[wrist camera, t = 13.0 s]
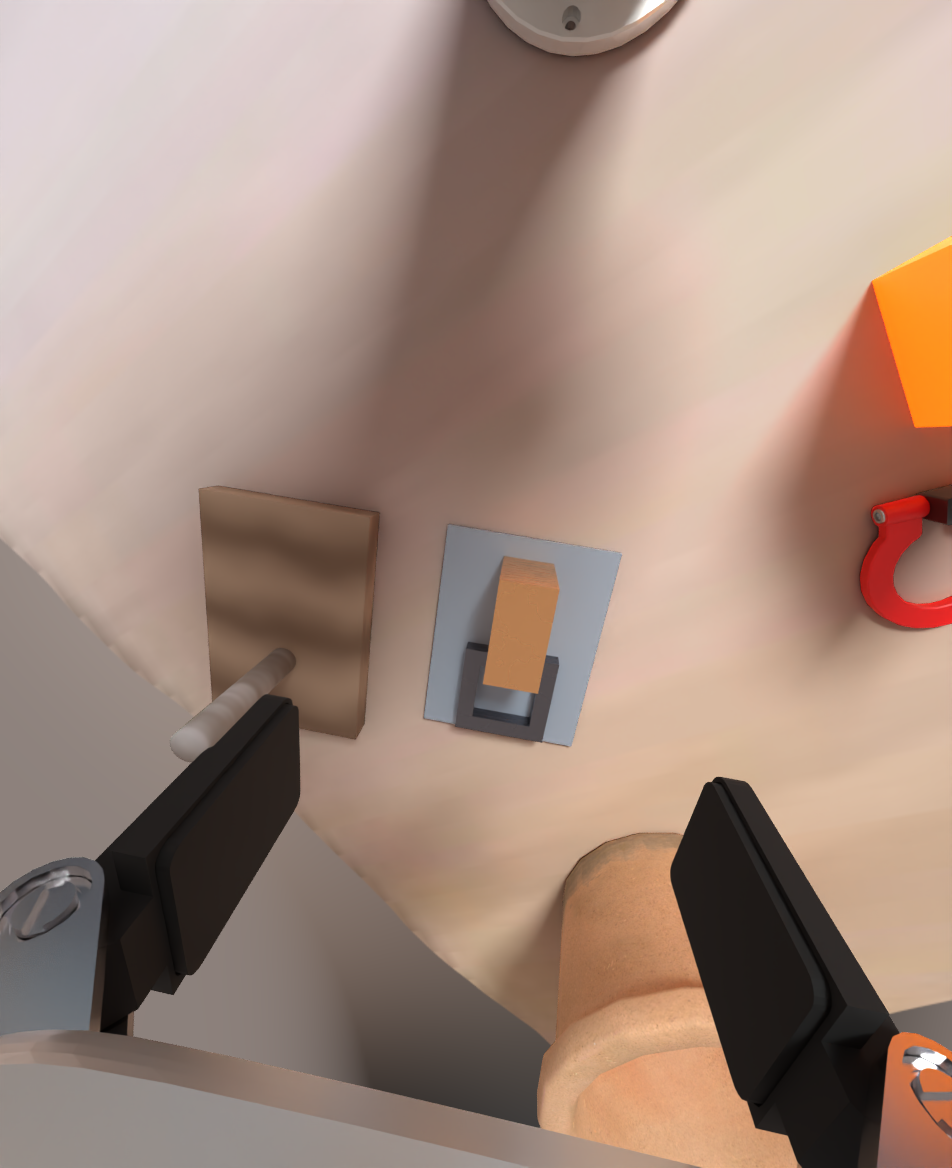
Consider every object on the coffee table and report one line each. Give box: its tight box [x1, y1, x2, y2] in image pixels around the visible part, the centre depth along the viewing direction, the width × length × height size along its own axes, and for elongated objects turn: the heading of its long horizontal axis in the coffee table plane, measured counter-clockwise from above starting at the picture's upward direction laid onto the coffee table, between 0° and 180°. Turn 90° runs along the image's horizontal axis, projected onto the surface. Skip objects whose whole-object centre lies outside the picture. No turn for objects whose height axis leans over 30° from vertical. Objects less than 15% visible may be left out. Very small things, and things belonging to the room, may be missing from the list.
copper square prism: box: [455, 556, 560, 742], centre depth 30 cm, size 14×7×6 cm, turn 172°
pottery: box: [537, 833, 798, 1168], centre depth 33 cm, size 22×22×14 cm
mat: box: [424, 524, 622, 746], centre depth 33 cm, size 16×12×1 cm
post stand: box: [170, 486, 380, 762], centre depth 28 cm, size 18×12×12 cm, turn 172°
